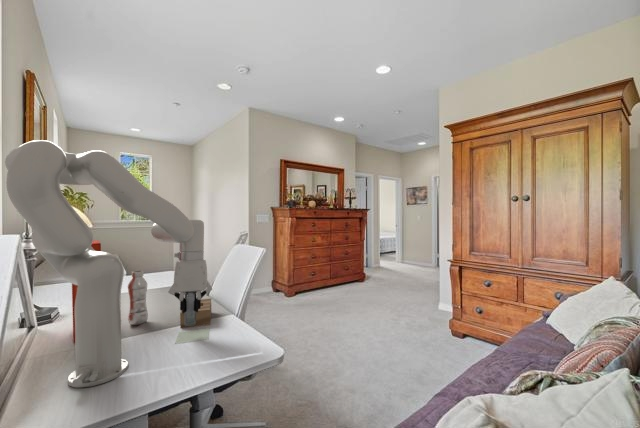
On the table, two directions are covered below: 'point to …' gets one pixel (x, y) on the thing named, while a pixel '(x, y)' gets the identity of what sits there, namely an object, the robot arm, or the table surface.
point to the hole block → (199, 314)
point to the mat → (192, 336)
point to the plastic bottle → (137, 299)
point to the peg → (190, 308)
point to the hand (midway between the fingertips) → (190, 311)
